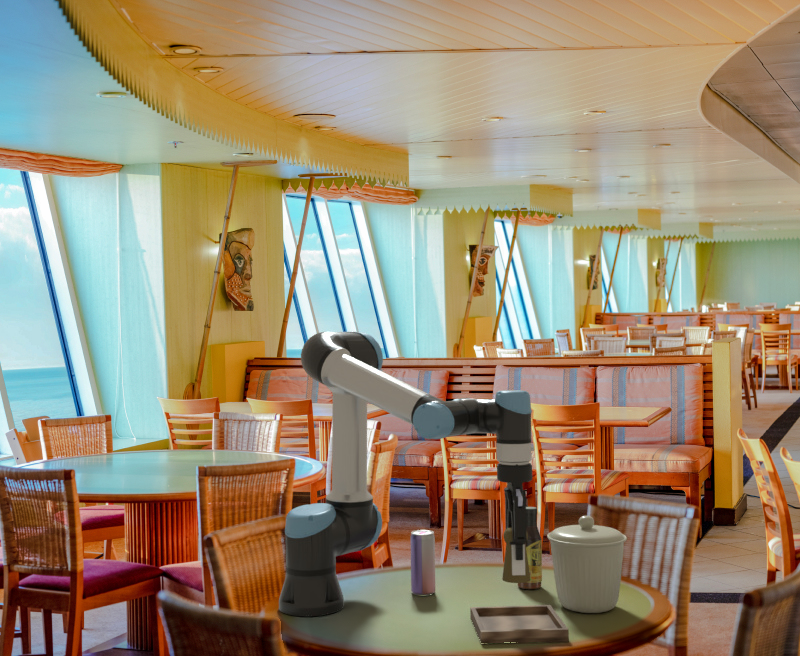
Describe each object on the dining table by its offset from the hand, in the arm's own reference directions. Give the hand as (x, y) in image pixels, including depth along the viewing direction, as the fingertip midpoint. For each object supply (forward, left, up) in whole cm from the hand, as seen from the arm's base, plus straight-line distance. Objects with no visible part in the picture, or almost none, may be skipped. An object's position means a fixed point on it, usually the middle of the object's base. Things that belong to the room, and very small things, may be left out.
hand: (516, 571), depth 196 cm
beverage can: (-18, +31, -13) cm, 38 cm away
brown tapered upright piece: (0, 0, -2) cm, 2 cm away
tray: (0, 0, -12) cm, 12 cm away
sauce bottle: (+9, +34, -13) cm, 37 cm away
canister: (+19, +15, -13) cm, 27 cm away
